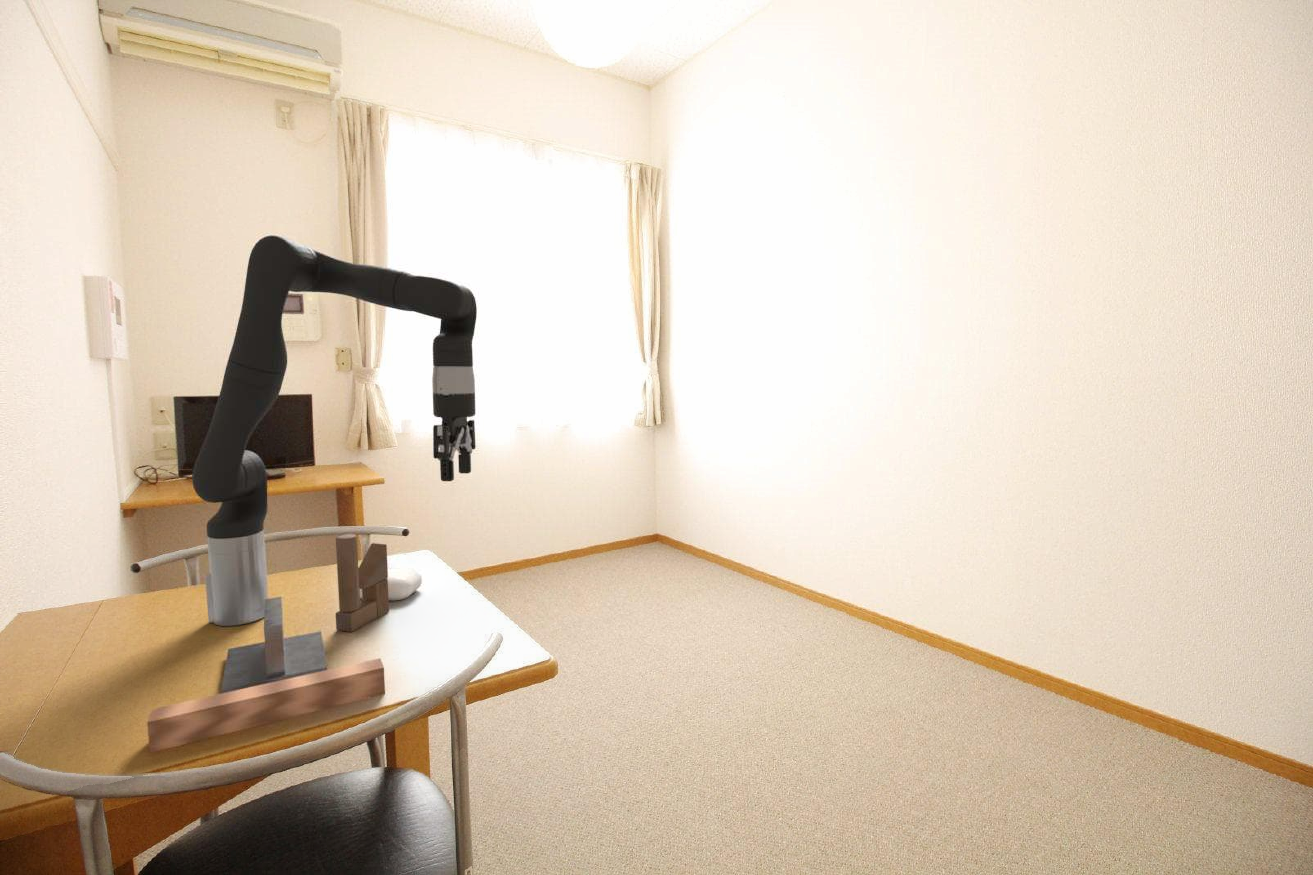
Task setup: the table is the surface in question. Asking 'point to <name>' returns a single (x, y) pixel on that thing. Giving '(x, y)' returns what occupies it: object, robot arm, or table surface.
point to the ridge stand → (273, 655)
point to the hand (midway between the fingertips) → (456, 476)
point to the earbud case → (401, 583)
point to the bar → (262, 704)
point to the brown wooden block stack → (360, 583)
